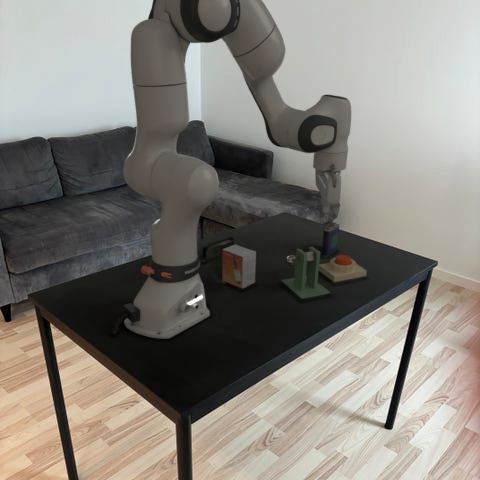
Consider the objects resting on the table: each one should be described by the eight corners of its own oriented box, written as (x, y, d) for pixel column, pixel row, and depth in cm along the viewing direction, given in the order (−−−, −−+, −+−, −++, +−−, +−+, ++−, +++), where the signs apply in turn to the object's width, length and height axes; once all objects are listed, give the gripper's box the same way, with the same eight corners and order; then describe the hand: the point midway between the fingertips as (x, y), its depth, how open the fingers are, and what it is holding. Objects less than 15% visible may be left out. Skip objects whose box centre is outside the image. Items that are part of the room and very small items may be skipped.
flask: (331, 247, 162) (334, 217, 156) (339, 249, 160) (342, 218, 155) (319, 256, 155) (322, 225, 149) (328, 258, 154) (331, 227, 148)
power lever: (285, 267, 140) (283, 256, 140) (294, 265, 141) (293, 255, 141) (305, 263, 128) (304, 251, 127) (316, 261, 129) (314, 249, 128)
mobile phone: (229, 234, 159) (197, 246, 148) (236, 236, 157) (205, 248, 147) (228, 248, 161) (198, 261, 151) (235, 250, 159) (205, 263, 149)
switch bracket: (281, 283, 138) (283, 245, 132) (308, 278, 141) (311, 240, 135) (301, 302, 128) (304, 261, 122) (330, 296, 131) (334, 256, 125)
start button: (340, 267, 138) (341, 261, 137) (332, 261, 141) (333, 256, 141) (353, 264, 139) (354, 259, 139) (345, 259, 143) (345, 253, 142)
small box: (221, 283, 138) (221, 248, 132) (235, 277, 141) (235, 243, 136) (242, 291, 133) (242, 256, 128) (255, 285, 137) (256, 250, 131)
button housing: (333, 285, 137) (335, 270, 135) (317, 272, 144) (318, 259, 142) (365, 278, 141) (367, 264, 138) (348, 267, 148) (350, 253, 146)
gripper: (349, 170, 119) (343, 223, 126) (335, 153, 137) (330, 200, 144) (324, 170, 119) (319, 223, 126) (313, 153, 137) (309, 200, 144)
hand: (325, 211), depth 135 cm, fingers closed
